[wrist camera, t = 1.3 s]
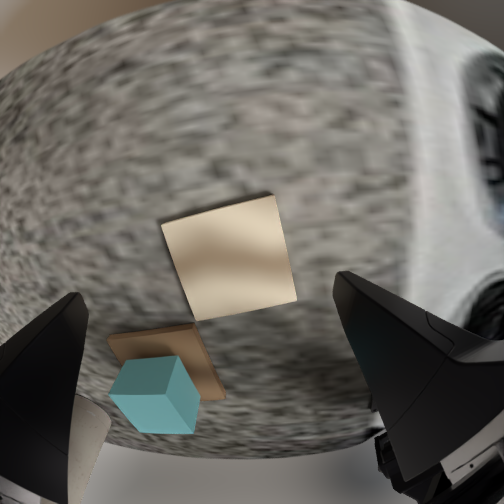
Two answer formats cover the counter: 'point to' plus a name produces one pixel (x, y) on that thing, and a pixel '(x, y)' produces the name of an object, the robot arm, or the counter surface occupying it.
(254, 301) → the board
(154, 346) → the post stand
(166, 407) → the teal cube
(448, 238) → the counter surface
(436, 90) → the counter surface
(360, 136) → the counter surface
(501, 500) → the robot arm
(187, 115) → the counter surface
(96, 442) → the thermos bottle
